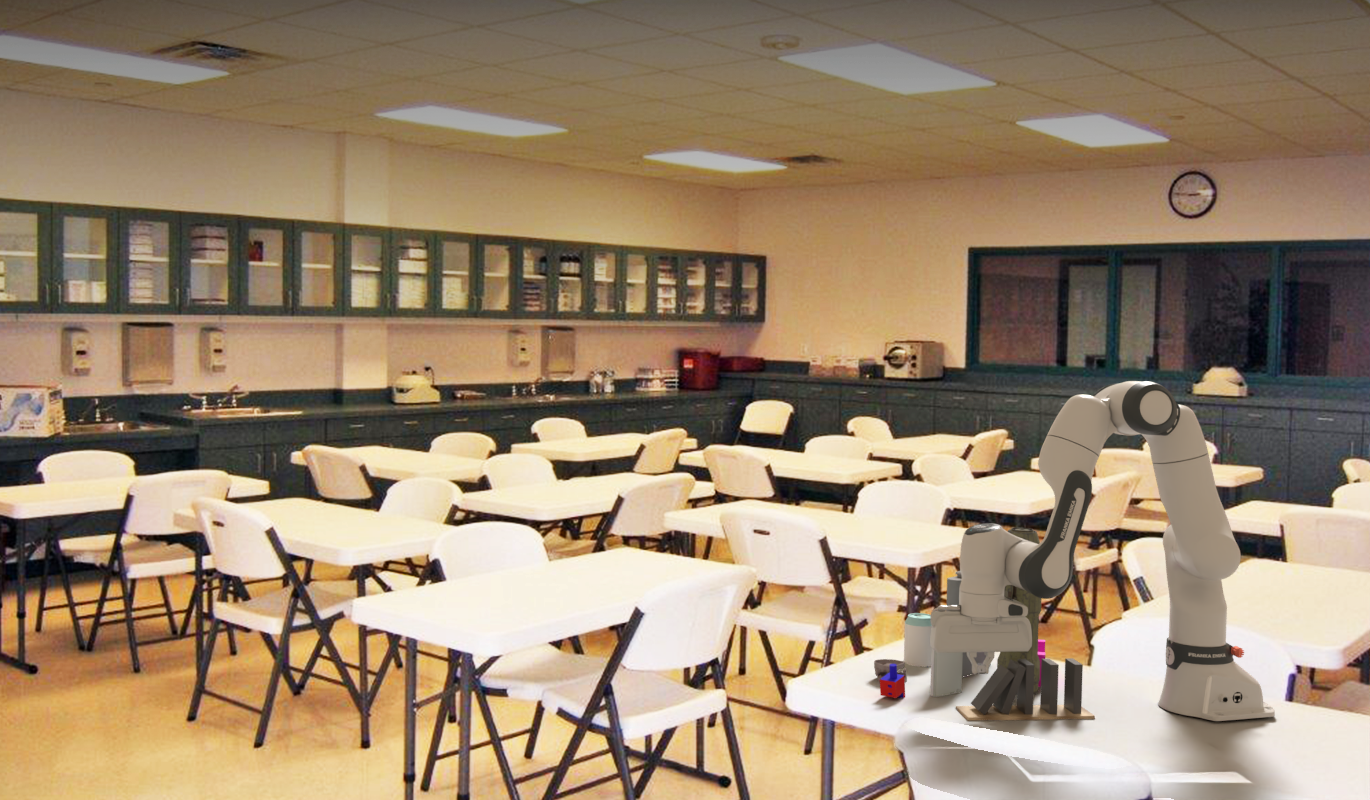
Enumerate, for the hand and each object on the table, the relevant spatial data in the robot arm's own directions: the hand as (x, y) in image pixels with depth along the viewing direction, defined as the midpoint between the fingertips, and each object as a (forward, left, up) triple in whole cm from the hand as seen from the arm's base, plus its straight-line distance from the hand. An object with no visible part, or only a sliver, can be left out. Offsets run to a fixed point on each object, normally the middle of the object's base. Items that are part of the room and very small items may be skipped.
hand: (980, 673), depth 261 cm
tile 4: (-14, 0, -8) cm, 16 cm away
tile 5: (-19, 0, -8) cm, 21 cm away
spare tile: (-9, 0, -8) cm, 12 cm away
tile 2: (-4, 0, -8) cm, 9 cm away
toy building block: (+15, -11, -9) cm, 20 cm away
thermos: (-14, -17, -9) cm, 24 cm away
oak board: (-9, 0, -8) cm, 13 cm away
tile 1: (0, 0, -7) cm, 7 cm away
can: (+2, -38, -9) cm, 39 cm away
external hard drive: (+3, -14, -9) cm, 17 cm away
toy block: (-23, -26, -9) cm, 36 cm away
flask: (-8, -32, -9) cm, 34 cm away
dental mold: (+12, -23, -9) cm, 28 cm away
